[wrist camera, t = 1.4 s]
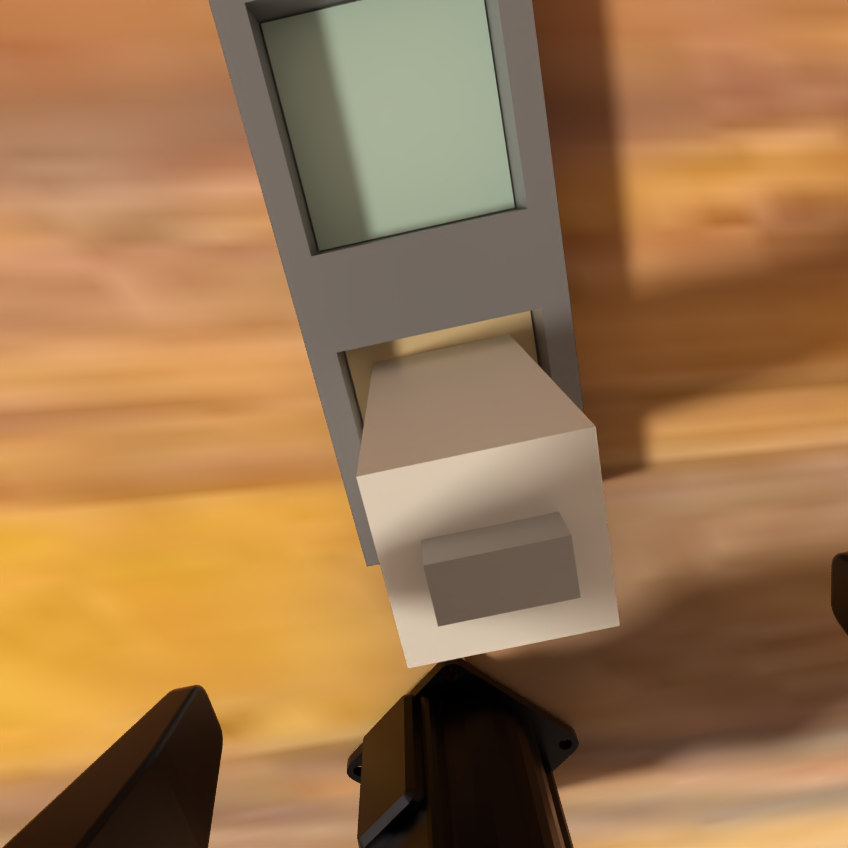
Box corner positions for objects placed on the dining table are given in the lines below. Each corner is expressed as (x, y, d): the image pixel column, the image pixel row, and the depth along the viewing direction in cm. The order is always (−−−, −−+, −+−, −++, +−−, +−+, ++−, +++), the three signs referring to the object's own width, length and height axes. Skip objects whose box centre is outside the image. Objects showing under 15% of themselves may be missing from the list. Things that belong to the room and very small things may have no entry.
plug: (529, 459, 19) (635, 655, 10) (403, 485, 19) (409, 700, 11) (508, 333, 17) (612, 443, 9) (373, 363, 18) (352, 498, 9)
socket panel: (578, 495, 20) (598, 526, 18) (371, 538, 20) (368, 573, 18) (499, -87, 15) (514, -133, 13) (219, -22, 15) (192, -57, 13)
